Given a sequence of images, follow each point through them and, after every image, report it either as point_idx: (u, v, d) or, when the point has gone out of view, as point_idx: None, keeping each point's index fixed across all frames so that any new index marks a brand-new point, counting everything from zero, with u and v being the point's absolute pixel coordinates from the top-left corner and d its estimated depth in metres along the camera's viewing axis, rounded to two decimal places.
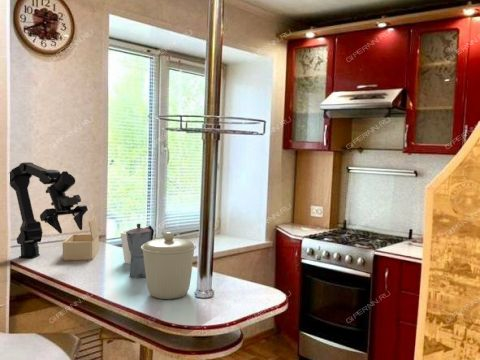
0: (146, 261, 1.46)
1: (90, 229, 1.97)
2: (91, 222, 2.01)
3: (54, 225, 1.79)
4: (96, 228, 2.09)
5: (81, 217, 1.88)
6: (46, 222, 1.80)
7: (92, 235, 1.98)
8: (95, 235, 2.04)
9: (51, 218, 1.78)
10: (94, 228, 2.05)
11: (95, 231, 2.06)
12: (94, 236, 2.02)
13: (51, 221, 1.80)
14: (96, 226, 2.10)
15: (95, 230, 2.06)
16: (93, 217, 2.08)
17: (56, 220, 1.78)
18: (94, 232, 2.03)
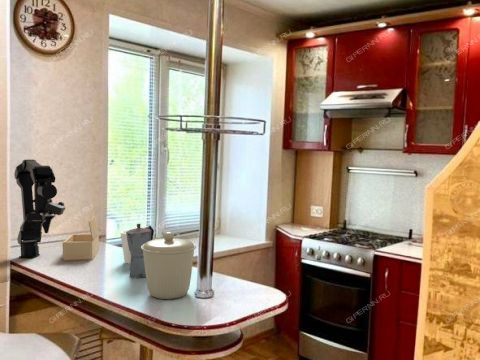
0: (146, 261, 1.46)
1: (90, 229, 1.97)
2: (91, 222, 2.01)
3: (36, 227, 1.79)
4: (96, 228, 2.09)
5: (50, 221, 1.89)
6: (28, 221, 1.77)
7: (92, 235, 1.98)
8: (95, 235, 2.04)
9: (38, 221, 1.77)
10: (94, 228, 2.05)
11: (95, 231, 2.06)
12: (94, 236, 2.02)
13: (34, 222, 1.78)
14: (96, 226, 2.10)
15: (95, 230, 2.06)
16: (93, 217, 2.08)
17: (41, 224, 1.79)
18: (94, 232, 2.03)
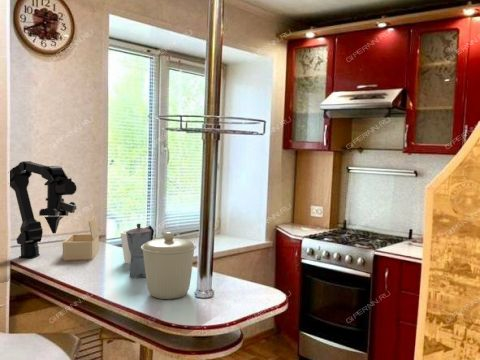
0: (146, 261, 1.46)
1: (90, 229, 1.97)
2: (91, 222, 2.01)
3: (51, 224, 1.87)
4: (96, 228, 2.09)
5: (58, 221, 1.90)
6: (45, 217, 1.86)
7: (92, 235, 1.98)
8: (95, 235, 2.04)
9: (54, 217, 1.87)
10: (94, 228, 2.05)
11: (95, 231, 2.06)
12: (94, 236, 2.02)
13: (50, 219, 1.87)
14: (96, 226, 2.10)
15: (95, 230, 2.06)
16: (93, 217, 2.08)
17: (57, 221, 1.88)
18: (94, 232, 2.03)
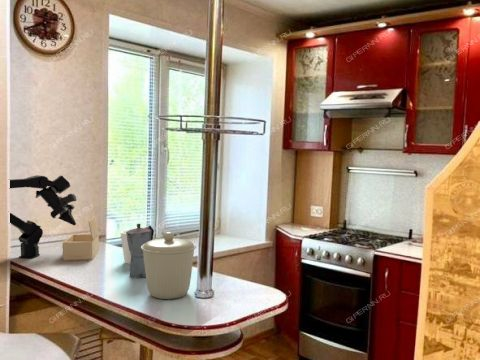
0: (146, 261, 1.46)
1: (90, 229, 1.97)
2: (91, 222, 2.01)
3: (67, 219, 2.06)
4: (96, 228, 2.09)
5: (71, 214, 2.08)
6: (59, 218, 2.04)
7: (92, 235, 1.98)
8: (95, 235, 2.04)
9: (65, 213, 2.04)
10: (94, 228, 2.05)
11: (95, 231, 2.06)
12: (94, 236, 2.02)
13: (63, 216, 2.05)
14: (96, 226, 2.10)
15: (95, 230, 2.06)
16: (93, 217, 2.08)
17: (69, 214, 2.06)
18: (94, 232, 2.03)
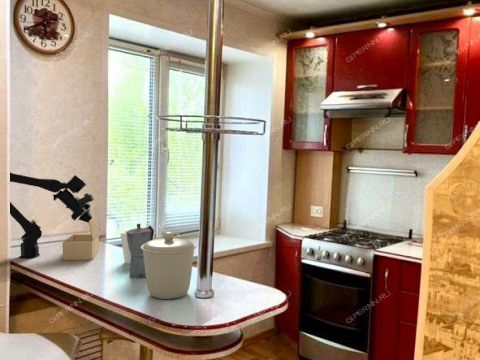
0: (146, 261, 1.46)
1: (90, 229, 1.97)
2: (91, 222, 2.01)
3: (87, 219, 2.09)
4: (96, 228, 2.09)
5: (90, 214, 2.11)
6: (79, 219, 2.07)
7: (92, 235, 1.98)
8: (95, 235, 2.04)
9: (84, 214, 2.07)
10: (94, 228, 2.05)
11: (95, 231, 2.06)
12: (94, 236, 2.02)
13: (83, 217, 2.08)
14: (96, 226, 2.10)
15: (95, 230, 2.06)
16: (93, 217, 2.08)
17: (88, 214, 2.09)
18: (94, 232, 2.03)
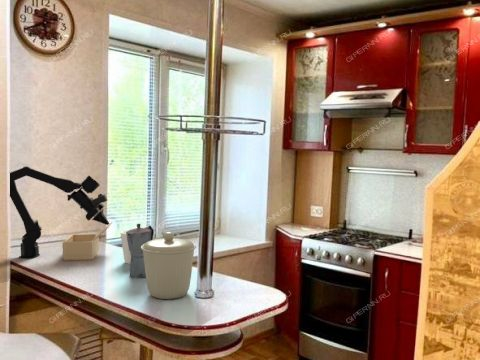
0: (146, 261, 1.46)
1: (101, 233, 1.98)
2: None
3: (101, 219, 2.10)
4: (102, 231, 2.10)
5: (103, 214, 2.12)
6: (93, 219, 2.08)
7: (96, 237, 1.98)
8: (97, 236, 2.04)
9: (98, 214, 2.08)
10: None
11: (100, 233, 2.06)
12: (96, 237, 2.02)
13: (96, 217, 2.09)
14: (104, 229, 2.11)
15: (101, 233, 2.07)
16: (111, 223, 2.09)
17: (102, 215, 2.10)
18: (99, 234, 2.04)
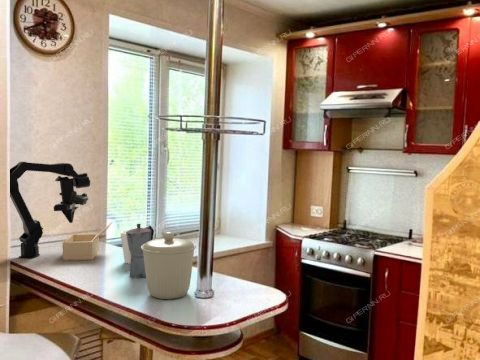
0: (146, 261, 1.46)
1: (101, 233, 1.98)
2: None
3: (67, 215, 2.11)
4: (102, 231, 2.10)
5: (74, 211, 2.14)
6: (61, 210, 2.10)
7: (96, 237, 1.98)
8: (97, 236, 2.04)
9: (68, 210, 2.10)
10: None
11: (100, 233, 2.06)
12: (96, 237, 2.02)
13: (65, 211, 2.11)
14: (104, 229, 2.11)
15: (101, 233, 2.07)
16: (111, 223, 2.09)
17: (71, 212, 2.11)
18: (99, 235, 2.04)
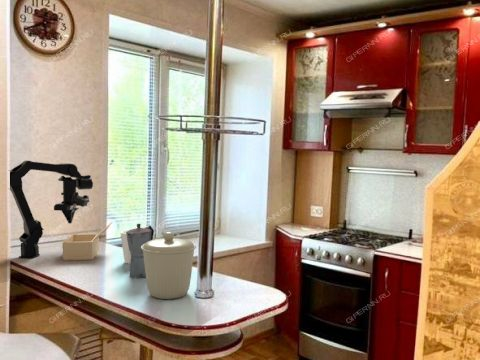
0: (146, 261, 1.46)
1: (101, 233, 1.98)
2: None
3: (67, 215, 2.12)
4: (102, 231, 2.10)
5: (74, 212, 2.14)
6: None
7: (96, 237, 1.98)
8: (97, 236, 2.04)
9: (68, 210, 2.10)
10: None
11: (100, 233, 2.06)
12: (96, 237, 2.02)
13: (65, 211, 2.11)
14: (104, 229, 2.11)
15: (101, 233, 2.07)
16: (111, 223, 2.09)
17: (71, 213, 2.11)
18: (99, 235, 2.04)
